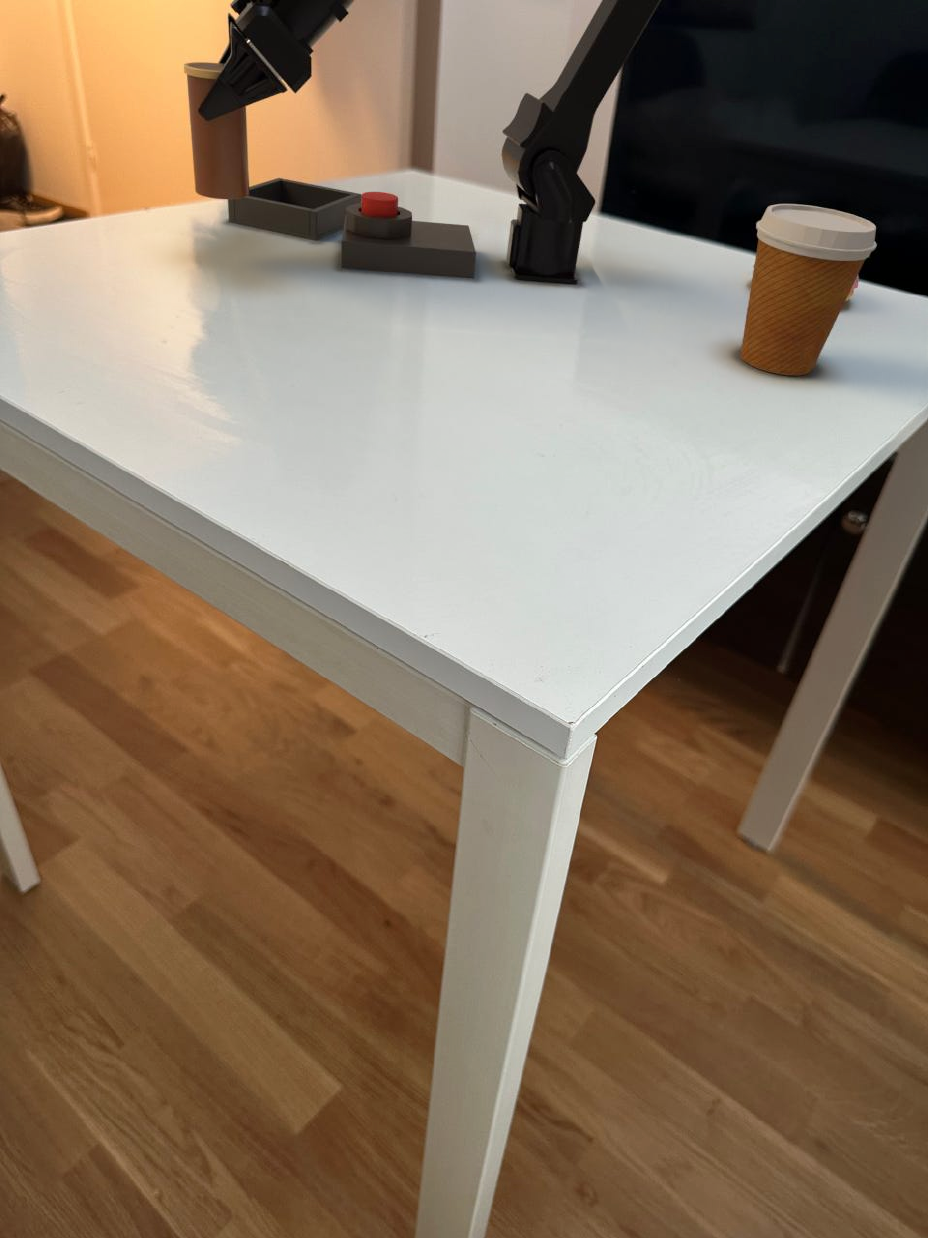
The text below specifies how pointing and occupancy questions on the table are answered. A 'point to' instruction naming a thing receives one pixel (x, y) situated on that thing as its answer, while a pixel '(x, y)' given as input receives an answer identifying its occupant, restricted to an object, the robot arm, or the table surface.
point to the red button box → (406, 245)
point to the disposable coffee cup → (801, 283)
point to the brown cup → (216, 140)
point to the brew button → (379, 204)
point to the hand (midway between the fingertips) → (201, 110)
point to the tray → (293, 208)
